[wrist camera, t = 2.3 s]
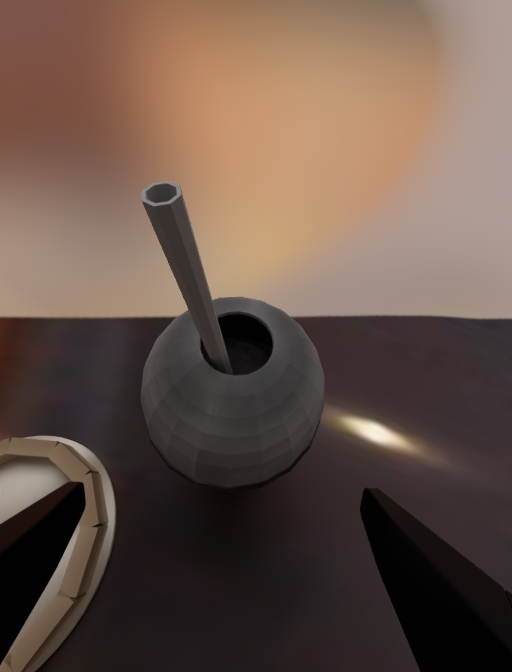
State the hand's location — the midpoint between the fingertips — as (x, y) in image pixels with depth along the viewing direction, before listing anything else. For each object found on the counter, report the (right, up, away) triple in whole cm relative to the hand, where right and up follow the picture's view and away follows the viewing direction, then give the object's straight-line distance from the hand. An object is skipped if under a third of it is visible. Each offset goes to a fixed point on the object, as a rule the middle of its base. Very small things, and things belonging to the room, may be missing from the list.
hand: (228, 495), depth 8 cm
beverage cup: (-1, -3, +12) cm, 13 cm away
